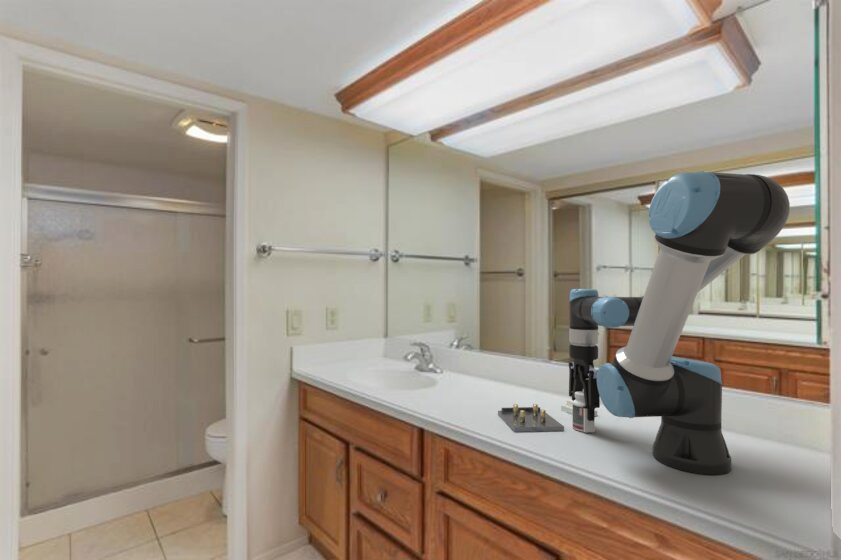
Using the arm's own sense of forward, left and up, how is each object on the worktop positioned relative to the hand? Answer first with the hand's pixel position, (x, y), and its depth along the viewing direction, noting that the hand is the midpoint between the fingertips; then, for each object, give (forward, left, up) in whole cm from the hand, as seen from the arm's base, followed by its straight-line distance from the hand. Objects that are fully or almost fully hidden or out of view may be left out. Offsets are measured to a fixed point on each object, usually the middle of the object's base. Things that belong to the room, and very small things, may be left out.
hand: (583, 427), depth 119 cm
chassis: (+7, +13, 0) cm, 15 cm away
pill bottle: (0, 0, -1) cm, 1 cm away
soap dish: (+15, -6, 0) cm, 16 cm away
